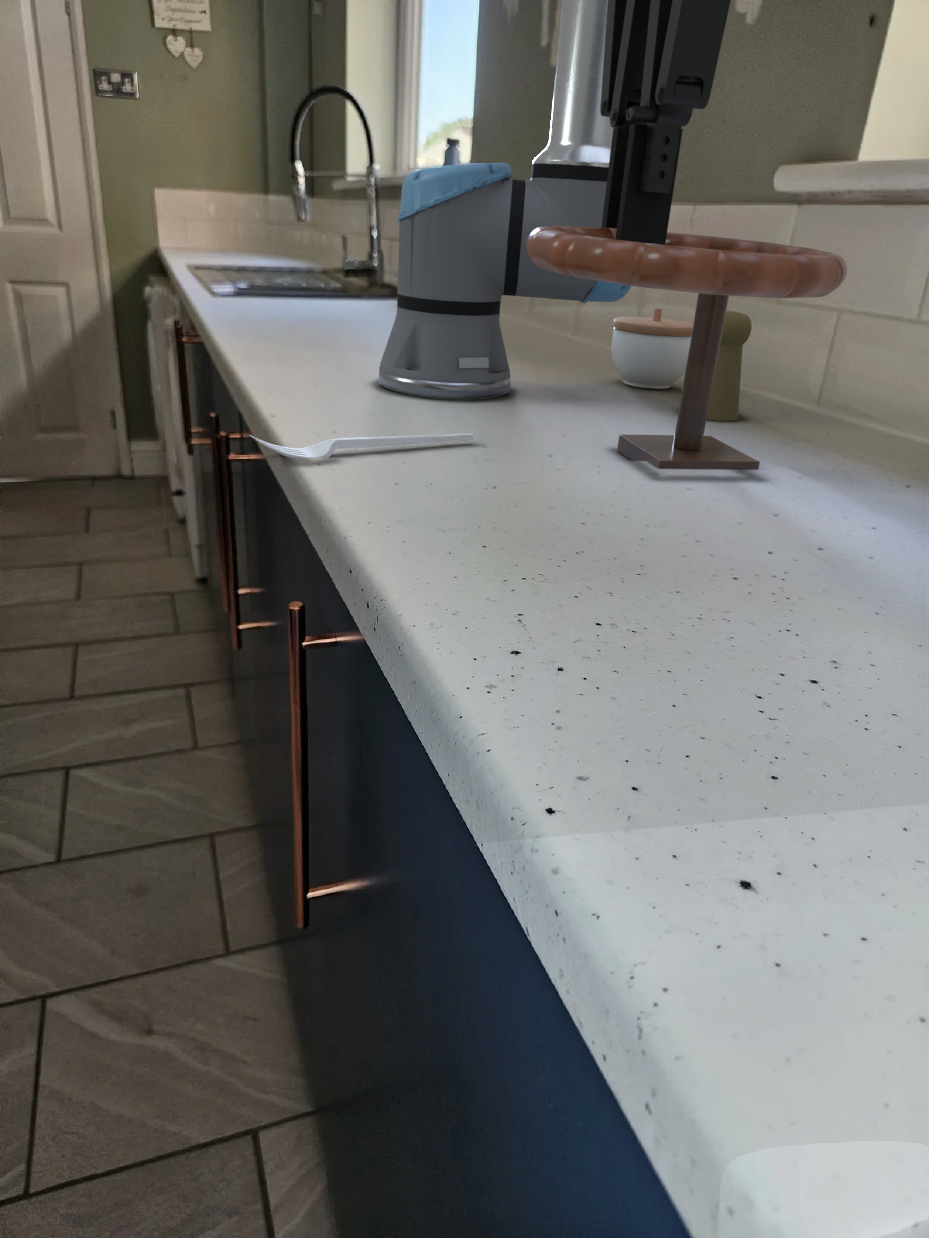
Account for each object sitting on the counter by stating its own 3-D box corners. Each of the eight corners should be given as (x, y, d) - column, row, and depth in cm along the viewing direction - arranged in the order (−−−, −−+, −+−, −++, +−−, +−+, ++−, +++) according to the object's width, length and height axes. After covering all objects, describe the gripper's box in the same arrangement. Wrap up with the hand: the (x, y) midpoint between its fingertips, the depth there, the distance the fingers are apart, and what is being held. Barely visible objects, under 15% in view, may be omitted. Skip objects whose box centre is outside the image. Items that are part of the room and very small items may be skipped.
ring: (491, 253, 49) (493, 219, 49) (744, 269, 53) (751, 237, 52) (579, 289, 36) (585, 242, 35) (912, 308, 39) (924, 265, 39)
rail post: (616, 450, 79) (642, 267, 72) (707, 451, 81) (740, 273, 74) (656, 478, 71) (690, 275, 64) (756, 479, 73) (798, 281, 66)
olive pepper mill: (740, 423, 94) (761, 316, 89) (683, 417, 95) (701, 311, 90) (735, 412, 99) (755, 311, 95) (682, 407, 100) (699, 306, 96)
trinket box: (596, 375, 117) (605, 301, 113) (673, 379, 118) (684, 306, 115) (617, 390, 107) (628, 310, 104) (701, 394, 109) (714, 315, 105)
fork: (481, 448, 76) (483, 426, 76) (262, 467, 66) (261, 442, 66) (462, 439, 79) (463, 418, 78) (247, 456, 69) (247, 433, 68)
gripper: (576, -239, 46) (532, 246, 56) (701, -410, 33) (614, 263, 43) (706, -215, 47) (640, 252, 58) (876, -368, 34) (752, 271, 45)
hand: (629, 256), depth 50 cm, fingers closed on ring, 2 cm apart
